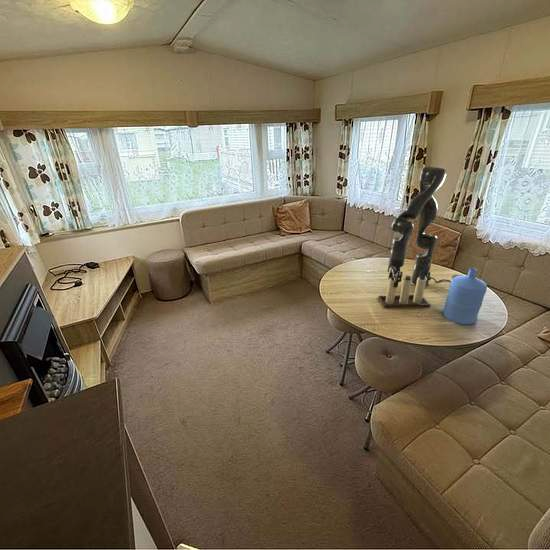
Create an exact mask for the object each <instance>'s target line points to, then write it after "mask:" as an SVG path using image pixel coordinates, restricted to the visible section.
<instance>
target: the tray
mask: <svg viewBox="0 0 550 550" xmlns="http://www.w3.org/2000/svg"><path fill="white" fill-rule="evenodd" d="M377 298H378V300H379V302H380V303H381V305H382V307H383V308H384V309H386V308H387V309H388V308H391V309H392V308H429V307H431V304H430V302H429V301H428V300H427V299H426V298H425V296H423V298H422V302H421V304H416V303H414V302H413V298H414V294H409V298H408V303H407V304H401V303H400V302H399V299H400V294H399V295H396V294H395V299H394V304H391V305H390V304H387V303H386V302H385V301H386V295H378V297H377Z"/></svg>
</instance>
